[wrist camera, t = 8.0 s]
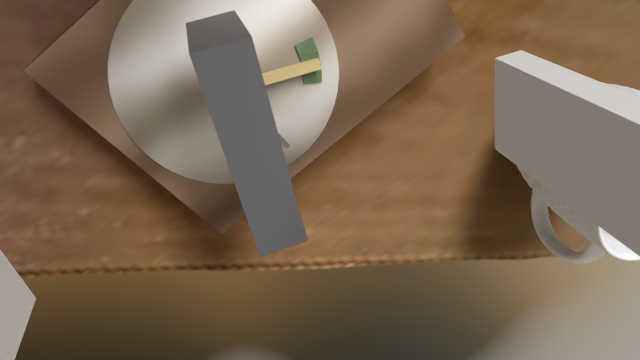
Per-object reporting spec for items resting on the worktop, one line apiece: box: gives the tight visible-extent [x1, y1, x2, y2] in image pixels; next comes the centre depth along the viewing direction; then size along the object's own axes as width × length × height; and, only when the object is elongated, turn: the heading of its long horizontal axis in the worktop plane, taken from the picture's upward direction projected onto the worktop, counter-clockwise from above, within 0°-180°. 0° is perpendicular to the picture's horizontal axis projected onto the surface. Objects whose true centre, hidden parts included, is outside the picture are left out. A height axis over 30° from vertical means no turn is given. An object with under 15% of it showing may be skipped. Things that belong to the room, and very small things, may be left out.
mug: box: [517, 83, 640, 263], centre depth 38 cm, size 15×11×13 cm
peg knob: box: [186, 10, 322, 256], centre depth 25 cm, size 7×10×11 cm
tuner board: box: [24, 0, 466, 234], centre depth 31 cm, size 16×22×4 cm
